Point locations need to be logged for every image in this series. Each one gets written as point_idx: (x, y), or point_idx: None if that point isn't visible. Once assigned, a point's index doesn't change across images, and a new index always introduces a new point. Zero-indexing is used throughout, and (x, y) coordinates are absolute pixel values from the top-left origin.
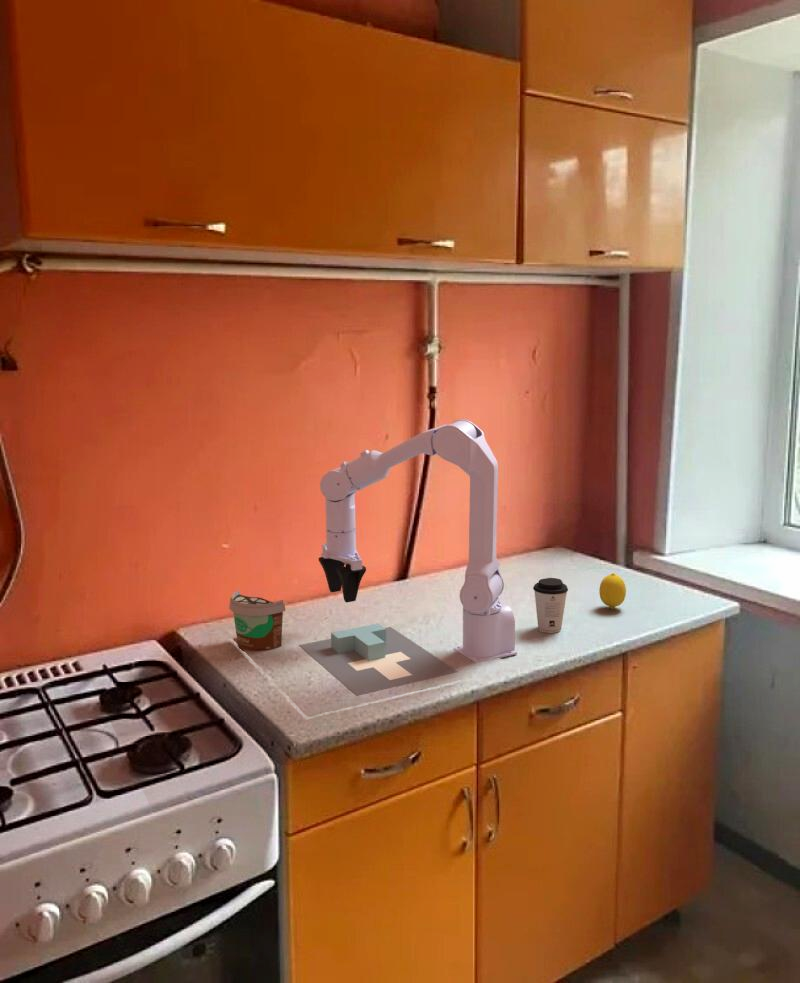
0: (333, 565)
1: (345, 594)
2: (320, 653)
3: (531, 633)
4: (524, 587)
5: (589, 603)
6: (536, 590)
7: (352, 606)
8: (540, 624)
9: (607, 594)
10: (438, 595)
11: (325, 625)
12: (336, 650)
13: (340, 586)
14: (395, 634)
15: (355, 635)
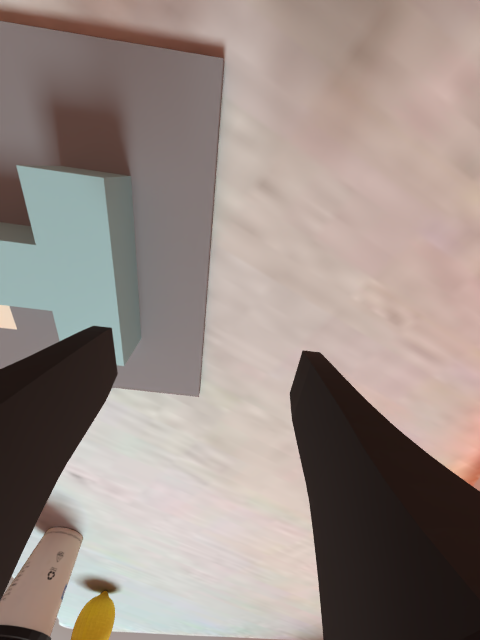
0: (362, 568)
1: (47, 349)
2: (87, 95)
3: (56, 517)
4: (240, 583)
5: (137, 589)
6: (5, 628)
7: (401, 407)
8: (52, 540)
9: (82, 621)
10: (305, 523)
11: (346, 284)
12: (78, 168)
13: (292, 413)
14: (142, 379)
15: (33, 248)
